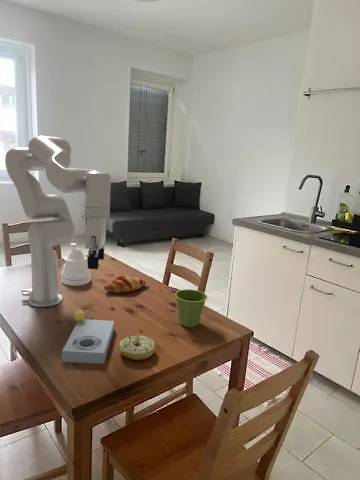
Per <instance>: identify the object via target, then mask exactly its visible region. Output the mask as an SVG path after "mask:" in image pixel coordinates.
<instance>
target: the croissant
mask: <svg viewBox="0 0 360 480" xmlns="http://www.w3.org/2000/svg"><path fill="white" fill-rule="evenodd" d="M147 284H148V280H147V279H146V280H145V279H144V278H139V277H137V276H131V277H130V276H129V275H128V274H123V275H118V276H117V277H116V278H115V279H113V280H112V281H111V283H108V284H106V285H104V286H103V287H104V290H105V291H107V292H108V293H109V292H111V293H114V294H115V293H117V294H119V293H128V292H134V291H136V290H138V289H141V288H143V287H145V286H147Z"/></svg>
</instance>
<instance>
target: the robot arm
mask: <svg viewBox="0 0 360 480" xmlns="http://www.w3.org/2000/svg"><path fill="white" fill-rule="evenodd" d="M71 154H72V148H71V145H70V143H69V142H68V141H67V140H66V139H65V138H63V137H57V136H49V135H36V136H33V137H32V138H31V139H30V140H29V142H28V145H27V147H26V146H25V147H24V146H22V147H21V146H20V147H19V146H18V147H12V148H10V149H9V150H7V152H6V153H5V157H4V158H5V169H6V172H7V174H8V176H9V178H10V180H11V182H12V183H13V185H14V187H15V188H16V191H17V194H18V198H19V200H20V203H21V206H22V209H23V212H24V215H25V216H26V217H27V219H28V220H31V221H38V222H34V223H32V224H31V225H30V226H29V227H28V228H27V238H28V242H29V243H28V244H29V249H30V261H31V264H30V265H31V288H29V289H28V288H22V289H21V294H22V296H23V297H28V298H27V303H28V304H29V305H30V306H33V307H36V308H37V307H38V308H46V307H47V308H48V307H54V306H56V305H58V304H60V303H62V302H63V296H62V294H60V293H59V257H58V254H57V252H55V250H54V249H53V247H54V246H55V247H56V246H58V245H59V246H60V245H64V244H65V245H66V244H70V243H73V241H74V240H75V238H76V228H75V224H74V222H73V218H72V216H71V213H70V210H69V208H68V205H67V202H66V200H65V199H64V197H63V196H61V195H60V194H56V193H55V194H53V193H50V194H48V193H47V194H45V193H44V192H43V190H42V186H41V184H40V182H39V181H38V179H37V178H36V177H35V176H34V175H33V174H31V173H30V172H29V171H33V172H34V171H36V172H37V171H39V172H40V171H41V172H43V171H44V172H45V176H46V178H47V180H48V182H49V183H50V184H51V185H52V186H53V187H54V188H55V189H57V190H58V191H59V192H62V193H64V194H72V193H73V194H74V193H77V194H78V193H85V195H84V217H85V218H87V219H86V222H85V223H86V224H85V225H86V226H85V236H84V237H85V239H84V248H85V249H86V250H87V249H88V251H87V252H88V253H87V263H88V269H89V270H98V269H99V261H100V260H101V261H103V260H105V243H106V239H107V238H106V236H107V219H109V218H110V215H111V214H110V212H111V209H110V208H111V187H112V186H111V185H112V183H111V181H112V177H111V175H110V173H109V172H106V171H98V170H96V169H95V168H94V169H93V168H76V167H75V168H73V167H72V168H71V167H70V165H71ZM51 219H53V220H51ZM39 220H40V221H39ZM42 220H43V221H42Z"/></svg>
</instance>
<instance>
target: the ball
mask: <svg viewBox="0 0 360 480" xmlns="http://www.w3.org/2000/svg"><path fill="white" fill-rule="evenodd" d="M85 316H86V315H85V313H84V312H83V310H77V311H76V312H75V313H74V314H73V317H74V320H75V321H77V322H78V321H81V320H83V319H85Z"/></svg>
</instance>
